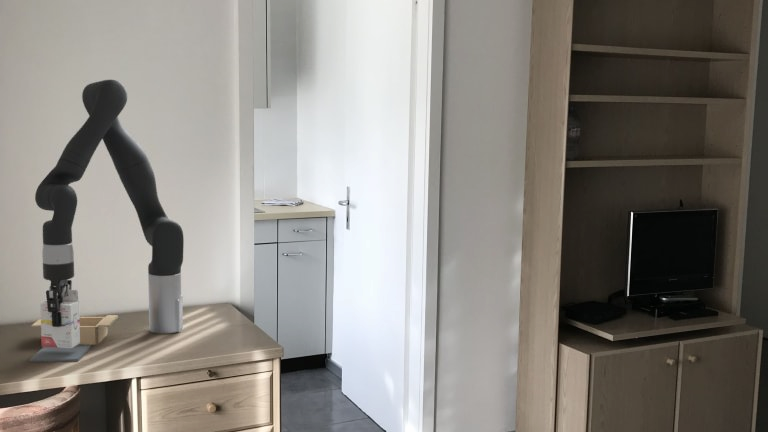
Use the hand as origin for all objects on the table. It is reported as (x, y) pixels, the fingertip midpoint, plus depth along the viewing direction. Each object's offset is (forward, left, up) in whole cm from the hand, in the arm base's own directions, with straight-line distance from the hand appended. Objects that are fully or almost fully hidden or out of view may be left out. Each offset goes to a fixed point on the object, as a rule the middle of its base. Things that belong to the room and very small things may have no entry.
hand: (60, 323), depth 207 cm
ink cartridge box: (0, 0, -6) cm, 6 cm away
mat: (0, 0, -8) cm, 8 cm away
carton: (0, -14, -8) cm, 16 cm away
